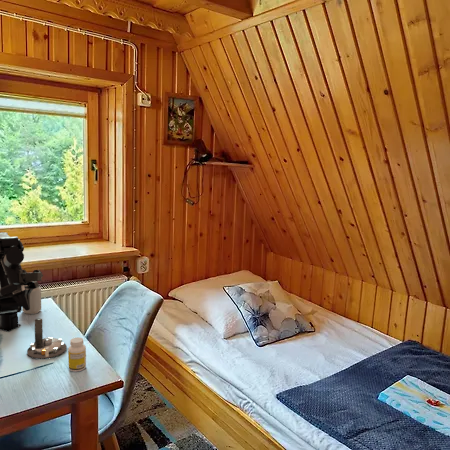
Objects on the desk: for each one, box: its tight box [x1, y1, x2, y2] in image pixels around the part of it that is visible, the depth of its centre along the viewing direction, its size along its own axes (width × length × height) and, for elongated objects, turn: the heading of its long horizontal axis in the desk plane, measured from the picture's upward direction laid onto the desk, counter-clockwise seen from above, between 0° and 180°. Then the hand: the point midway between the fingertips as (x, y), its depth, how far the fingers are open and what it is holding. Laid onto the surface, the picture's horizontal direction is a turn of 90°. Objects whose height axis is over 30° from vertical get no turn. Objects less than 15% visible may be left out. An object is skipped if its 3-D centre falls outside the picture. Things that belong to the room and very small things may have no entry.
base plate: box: [26, 341, 68, 360], centre depth 150 cm, size 13×13×4 cm
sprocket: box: [29, 318, 65, 355], centre depth 149 cm, size 11×11×12 cm
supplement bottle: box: [67, 337, 87, 373], centre depth 139 cm, size 5×5×10 cm
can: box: [21, 286, 42, 315], centre depth 184 cm, size 8×8×12 cm
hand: (28, 310), depth 155 cm, fingers closed
